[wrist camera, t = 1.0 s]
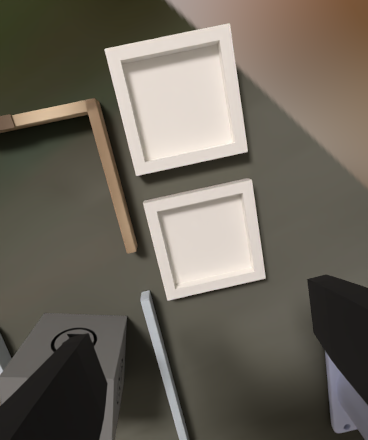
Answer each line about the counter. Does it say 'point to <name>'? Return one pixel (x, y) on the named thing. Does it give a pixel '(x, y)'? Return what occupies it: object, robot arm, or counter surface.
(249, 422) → the counter surface
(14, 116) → the oak pen
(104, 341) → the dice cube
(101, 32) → the counter surface
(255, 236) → the dish
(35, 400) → the robot arm
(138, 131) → the dish
